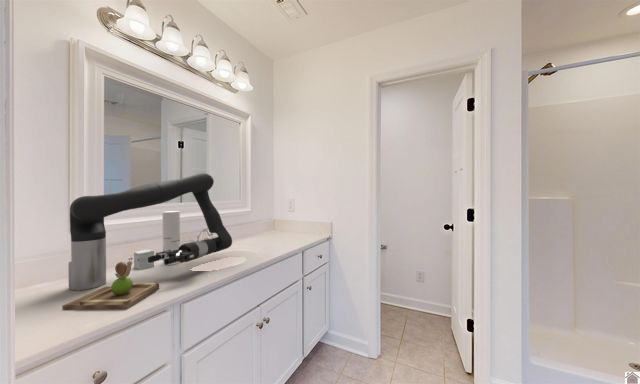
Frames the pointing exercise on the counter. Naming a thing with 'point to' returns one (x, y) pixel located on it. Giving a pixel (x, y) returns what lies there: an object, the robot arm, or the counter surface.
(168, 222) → the cylindrical container
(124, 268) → the snail figurine
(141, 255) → the skincare box
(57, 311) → the counter surface
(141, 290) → the display base
